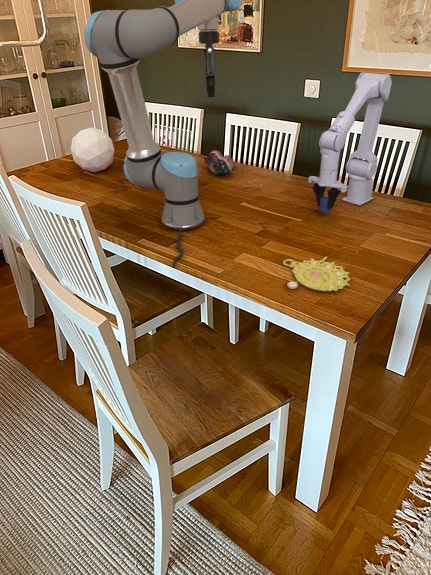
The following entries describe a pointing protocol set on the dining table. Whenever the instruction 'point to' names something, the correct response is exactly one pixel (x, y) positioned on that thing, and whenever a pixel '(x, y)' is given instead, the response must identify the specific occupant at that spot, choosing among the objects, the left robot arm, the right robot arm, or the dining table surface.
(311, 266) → the decorative object
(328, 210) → the canister
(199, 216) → the left robot arm
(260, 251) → the dining table surface
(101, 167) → the sphere
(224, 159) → the athletic shoe
